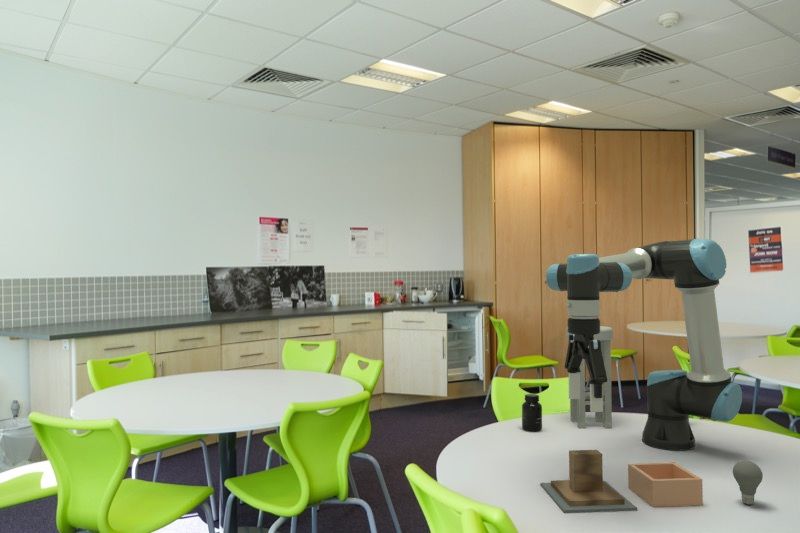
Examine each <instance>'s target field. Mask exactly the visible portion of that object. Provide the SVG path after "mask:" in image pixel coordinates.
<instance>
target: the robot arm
mask: <svg viewBox="0 0 800 533" xmlns="http://www.w3.org/2000/svg"><path fill="white" fill-rule="evenodd" d="M726 269H727V259H726V255H725V252H724V250H723V249H722V247H721V246H720V245H719V243H717V242H716V241H715V240H713V239H707V238H705V239H702V238H693V239H692V238H691V239H680V240H665V241H664V240H663V241H659V242H658V241H657V242H654V243H650V244H647V245H641V246H639V247H633V248H630V249H629V250H627V251H626V252H624V253H619V254H613V255H607V256H602V257H599V255H597V254H595V253H579V254H577V253H576V254H575V253H574V254H570V255H568V257H567V258H566V263H562V262H561V263H560V262H559V263H554V264H551V265H550V266H549V267H548V268H547V271H546V272H545V273H546V274H545V280H546V284H547V286H548V287H549V289H551V290H552V291H556V292H557V291H558V292H567V296H566V297H567V298H566V300H567V301H566V302H567V303H566V304H565V308H567V316H568V319H567V327H568V332H569V333H570V334H573V335H569V338H568V345H567V350H566V357H565V363H564V368H565V369H566V371H567V373H568V375H567V376H568V399H569V400H570V399H580V373H576V372H581V371H580V368H579V367H580V365H581V362H582V359H584V360H585V366H586V368H587V370H588V375H589V377H590V380H589V382H588V384H589V387H590V391H589V392H590V399H589V401H590V405H589V412H591V413H595V412H603V383H604V382H607V381H608V380H607V375H606V370H605V366H604V361H603V356H602V352H601V342H600V340H594V335H595V334H599V333H600V326H601V320H600V319H599V317H600V316H601V300H600V293H611V292H612V293H618V292H622V291H625V290H627V289H628V288H629V287H630V286H631V284H632V282H633V280H642V279H656V280H673V283H674V287H675V288H674V289H676V290H678V291H679V292H680V294H681V300H682V308H683V315H684V324H685V332H686V338H687V339H686V340H687V348H688V355H689V362H690V370H689V371H687V370H684V369H669V370H668V369H666V370H654V371H650V372H649V374H647V383H646V388H647V391H646V394H647V419H646V422H645V425H644V428H643V430H642V433H641V434H642V439H641V440H642V442H643V444H645V445H647V446H650V447H653V448H657V449H662V450H670V451H689V450H692V449H694V448H695V447H696V440H695V439H696V438H695V436H694V433H693V430H692V428H691V424H690V420H689V421H688V415H689V416H692V417H696V418H697V417H698V418H701V419H707V420H712V421H713V422H716V421H717V422H723V423H724V422H725V423H727V422H730V421H731V422H732V420H734V419H735V418H736V417H737V415H738V413H739V411H740V410H741V406H742V403H743V390H742V388H741V386H740V385H739V384H738V383H736V382H735V381H732V375H731V373H730V372H729V371H728V370H726V369H725V366H724V358H723V351H722V343H721V333H720V326H719V319H718V318H719V317H718V310H717V300H716V295H715V294H716V293H715V289H716V288H717V287H718V286H719V285H720V280H721V279H723V278H724V277H725V275H726Z"/></svg>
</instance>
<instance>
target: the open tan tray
mask: <svg viewBox="0 0 800 533" xmlns="http://www.w3.org/2000/svg"><path fill="white" fill-rule="evenodd" d="M627 472H628V474H627V475H628V476H627V477H628V479H627V481H628V482H627V483H628V484H627V486H628V487H627V488H628V489H629V490H631V491H632V492H633V493H635V494H636V495H637V496H638V497H640V498H641V499H642V500H643V501H645V502H646V503H647V504H648V505H649V506H651V507H652V508H660V507H661V508H663V507H687V506H688V507H691V506H690V505H696V506H703V505H704V504H703V503H704V502H703V499H704V495H703V494H704V493H703V491H704V490H703V479H702V478H700V477H699V476H698V475H696V474H694V473H693V472H691V471H689V470H687V469H686V468H684V467H683V466H681V465H679V464H677V463H676V462H642V463H627Z"/></svg>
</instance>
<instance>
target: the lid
mask: <svg viewBox="0 0 800 533" xmlns="http://www.w3.org/2000/svg"><path fill="white" fill-rule="evenodd" d="M568 465H569V466H568V470H569V471H568V474H569V475H568V476H569V477H568V479H561V480H560V479H559V480H550V483H551V486H552V487H553V488H554V490H555V491H556V492H557V493H558V494H559V495H560V496H561V497H562V498H563V500H564V501H565V502H566V503H567V504H568V505H569V506H593V505H622V504H625V500H624V498H622V497H621V496H620V495H619V494H618V493H617V492H615V491H614V490H613V489H612V488H611V487H610V486H608V485H607V484H606V483H605V482H604V481H605V480H604V479H603V478H604V477H603V472H604V471H603V468H604V467H603V453H602V452H600V451H599V450H598V449H580V450H579V449H578V450H576V449H575V450H568Z"/></svg>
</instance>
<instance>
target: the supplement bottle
mask: <svg viewBox="0 0 800 533" xmlns="http://www.w3.org/2000/svg"><path fill="white" fill-rule="evenodd" d="M539 395H540V394H535V393H526V394H524V401H525V402H523V403H522V405H521V428H522V430H524V431H525V432H530V433H538V432H541V431H542V430H543V407H542V406H543V405H542V403H540V396H539Z"/></svg>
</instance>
